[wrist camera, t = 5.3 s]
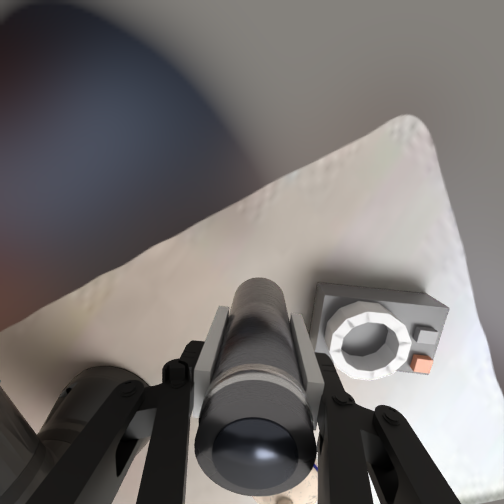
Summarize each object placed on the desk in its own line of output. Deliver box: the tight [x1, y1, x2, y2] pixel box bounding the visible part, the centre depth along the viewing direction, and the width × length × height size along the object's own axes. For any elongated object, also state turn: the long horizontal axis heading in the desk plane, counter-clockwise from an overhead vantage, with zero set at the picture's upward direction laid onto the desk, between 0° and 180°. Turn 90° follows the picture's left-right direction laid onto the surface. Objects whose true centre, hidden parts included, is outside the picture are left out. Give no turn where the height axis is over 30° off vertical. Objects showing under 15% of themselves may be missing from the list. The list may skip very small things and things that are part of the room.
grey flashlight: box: [194, 278, 317, 497], centre depth 15 cm, size 5×5×13 cm
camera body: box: [309, 282, 449, 381], centre depth 29 cm, size 14×9×6 cm, turn 85°
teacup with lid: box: [252, 460, 318, 504], centre depth 31 cm, size 12×9×12 cm
